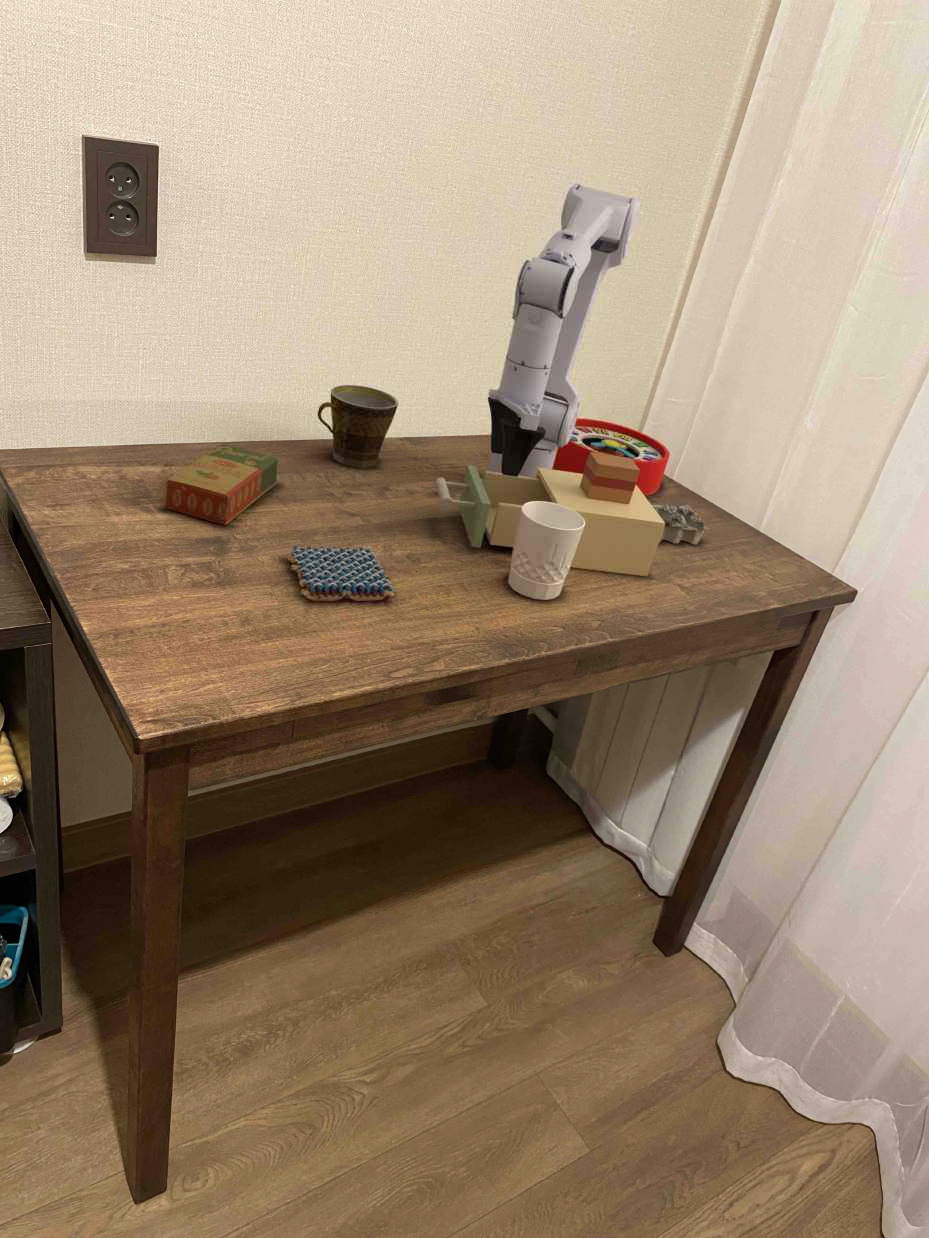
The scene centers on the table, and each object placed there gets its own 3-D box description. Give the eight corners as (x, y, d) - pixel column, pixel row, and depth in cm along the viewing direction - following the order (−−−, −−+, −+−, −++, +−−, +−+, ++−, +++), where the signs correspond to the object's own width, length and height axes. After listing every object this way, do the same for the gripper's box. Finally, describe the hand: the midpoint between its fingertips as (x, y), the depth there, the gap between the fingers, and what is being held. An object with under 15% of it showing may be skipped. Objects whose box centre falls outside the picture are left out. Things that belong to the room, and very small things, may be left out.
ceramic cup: (361, 444, 145) (371, 383, 140) (400, 469, 140) (412, 406, 135) (292, 451, 137) (300, 386, 132) (331, 478, 131) (340, 411, 126)
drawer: (437, 542, 118) (447, 498, 115) (427, 501, 129) (435, 460, 125) (569, 559, 122) (582, 516, 119) (548, 518, 133) (559, 478, 130)
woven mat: (370, 559, 112) (373, 544, 111) (395, 604, 103) (398, 588, 102) (285, 558, 107) (287, 542, 106) (304, 604, 99) (306, 588, 98)
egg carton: (644, 543, 134) (653, 518, 132) (623, 520, 141) (631, 496, 139) (706, 546, 138) (715, 522, 136) (683, 524, 144) (691, 501, 142)
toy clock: (616, 418, 168) (693, 460, 155) (608, 447, 171) (682, 492, 157) (532, 418, 157) (607, 464, 143) (524, 450, 160) (597, 498, 146)
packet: (587, 498, 122) (598, 463, 120) (579, 485, 126) (589, 451, 123) (629, 504, 123) (640, 470, 121) (620, 491, 127) (630, 457, 125)
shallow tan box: (545, 564, 121) (560, 508, 117) (524, 519, 133) (537, 467, 129) (647, 576, 124) (665, 523, 120) (617, 531, 136) (633, 481, 132)
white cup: (546, 610, 110) (568, 535, 105) (491, 584, 113) (509, 510, 108) (574, 590, 116) (595, 519, 111) (521, 565, 119) (540, 495, 114)
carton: (163, 509, 112) (164, 477, 110) (220, 469, 126) (222, 440, 124) (227, 527, 111) (229, 494, 109) (277, 485, 125) (280, 455, 123)
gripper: (487, 341, 119) (466, 439, 125) (508, 373, 107) (484, 481, 113) (539, 350, 120) (515, 447, 127) (565, 383, 108) (538, 488, 115)
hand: (504, 463), depth 120 cm, fingers open, 7 cm apart
